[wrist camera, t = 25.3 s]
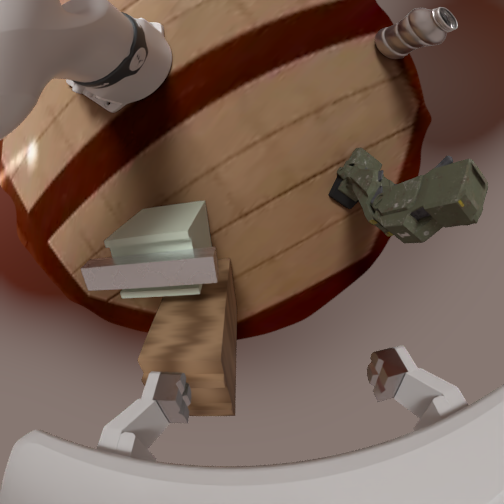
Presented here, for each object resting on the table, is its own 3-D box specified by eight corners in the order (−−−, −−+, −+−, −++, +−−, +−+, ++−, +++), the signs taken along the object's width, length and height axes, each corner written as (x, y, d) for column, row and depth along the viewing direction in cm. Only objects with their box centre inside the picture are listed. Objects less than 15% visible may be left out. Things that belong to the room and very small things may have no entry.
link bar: (97, 280, 36) (88, 290, 33) (90, 259, 34) (80, 268, 31) (219, 271, 36) (217, 282, 33) (215, 246, 34) (213, 256, 31)
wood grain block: (191, 312, 56) (165, 420, 31) (179, 262, 51) (134, 367, 27) (237, 309, 56) (235, 422, 31) (230, 258, 51) (220, 368, 26)
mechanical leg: (344, 229, 49) (472, 270, 20) (313, 209, 47) (440, 234, 18) (373, 168, 47) (504, 159, 18) (346, 146, 46) (475, 114, 16)
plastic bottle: (386, 66, 36) (452, 44, 18) (364, 38, 34) (422, 2, 16) (405, 54, 35) (471, 34, 17) (385, 28, 33) (443, -5, 14)
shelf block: (152, 253, 50) (122, 298, 36) (142, 209, 47) (103, 241, 32) (212, 247, 50) (200, 294, 36) (205, 200, 47) (187, 230, 32)
